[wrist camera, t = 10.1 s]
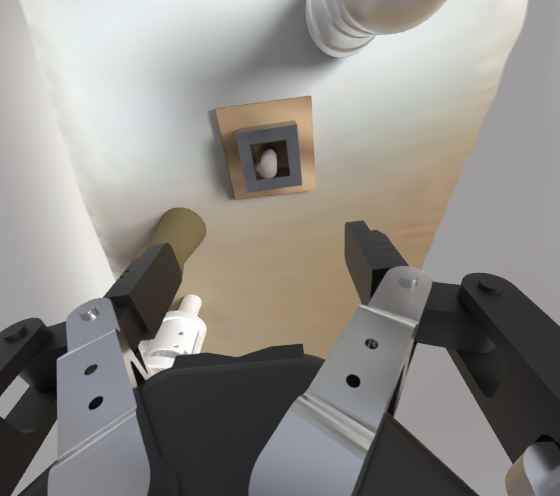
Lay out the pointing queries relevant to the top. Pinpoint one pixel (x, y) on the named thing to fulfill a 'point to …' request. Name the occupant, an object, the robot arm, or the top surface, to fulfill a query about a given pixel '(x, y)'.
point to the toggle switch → (270, 152)
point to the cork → (178, 233)
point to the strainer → (177, 335)
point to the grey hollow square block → (262, 135)
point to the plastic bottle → (362, 21)
